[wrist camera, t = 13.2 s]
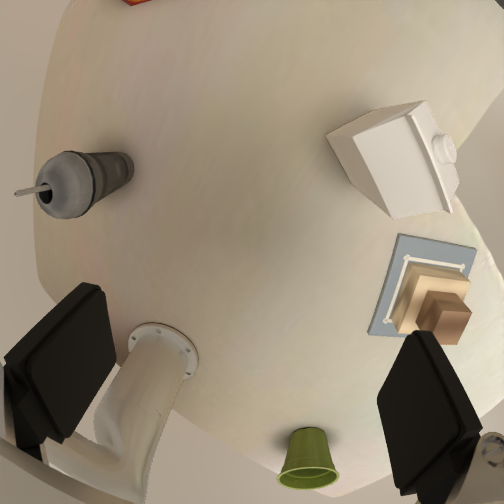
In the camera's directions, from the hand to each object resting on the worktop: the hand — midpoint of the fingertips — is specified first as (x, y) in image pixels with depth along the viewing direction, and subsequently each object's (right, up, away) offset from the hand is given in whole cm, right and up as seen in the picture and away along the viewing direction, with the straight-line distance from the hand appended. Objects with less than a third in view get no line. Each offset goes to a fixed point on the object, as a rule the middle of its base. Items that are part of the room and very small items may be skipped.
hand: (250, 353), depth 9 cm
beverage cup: (-18, +14, +29) cm, 37 cm away
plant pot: (+12, -35, +46) cm, 59 cm away
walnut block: (+25, -5, +27) cm, 37 cm away
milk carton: (+14, +16, +25) cm, 33 cm away
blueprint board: (+25, -3, +31) cm, 40 cm away
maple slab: (+25, -3, +31) cm, 40 cm away
